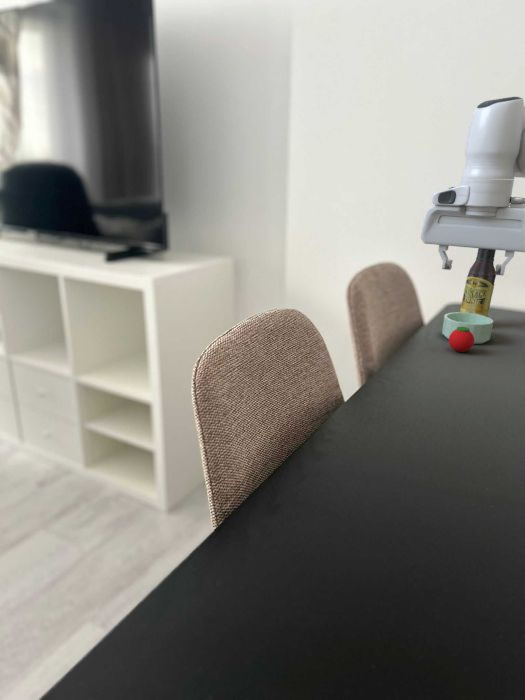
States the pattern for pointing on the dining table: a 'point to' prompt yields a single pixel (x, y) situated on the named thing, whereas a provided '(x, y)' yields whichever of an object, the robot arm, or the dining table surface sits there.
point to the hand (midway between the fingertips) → (472, 271)
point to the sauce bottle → (479, 284)
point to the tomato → (461, 339)
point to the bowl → (468, 325)
